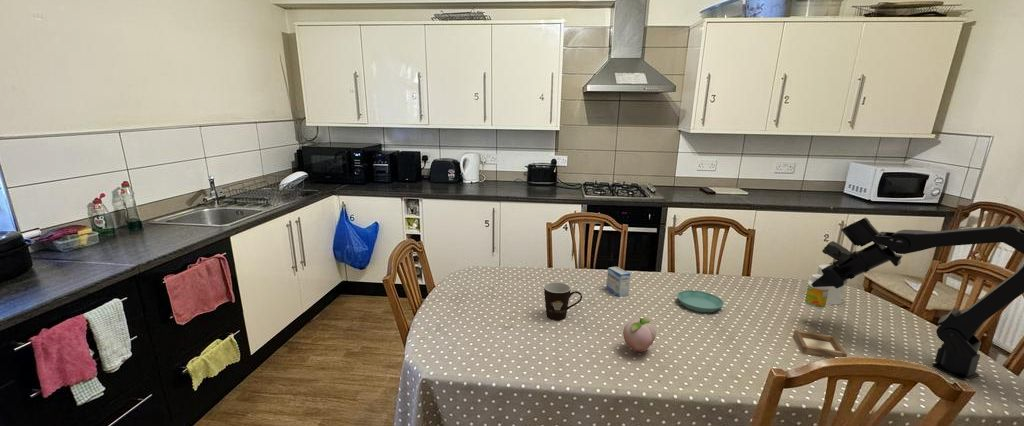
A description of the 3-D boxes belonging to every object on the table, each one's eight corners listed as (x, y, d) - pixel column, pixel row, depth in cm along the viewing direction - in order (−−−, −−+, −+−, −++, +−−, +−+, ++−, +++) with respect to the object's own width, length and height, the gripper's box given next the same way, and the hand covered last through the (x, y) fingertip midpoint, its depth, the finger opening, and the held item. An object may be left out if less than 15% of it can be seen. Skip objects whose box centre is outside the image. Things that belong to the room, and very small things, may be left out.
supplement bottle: (800, 303, 135) (805, 274, 132) (812, 300, 137) (817, 272, 134) (817, 310, 130) (823, 280, 128) (829, 307, 132) (835, 278, 129)
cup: (845, 305, 147) (852, 273, 145) (819, 303, 149) (825, 271, 146) (833, 296, 155) (839, 265, 152) (808, 294, 157) (814, 263, 154)
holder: (833, 342, 123) (834, 336, 123) (845, 360, 114) (847, 354, 114) (793, 336, 127) (794, 329, 126) (802, 353, 117) (803, 346, 117)
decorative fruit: (630, 339, 124) (632, 307, 121) (657, 349, 119) (661, 316, 116) (615, 352, 117) (618, 319, 114) (644, 363, 112) (647, 329, 109)
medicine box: (605, 289, 159) (607, 267, 157) (615, 287, 161) (617, 265, 159) (619, 297, 152) (621, 274, 150) (629, 295, 154) (631, 272, 152)
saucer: (732, 311, 143) (733, 304, 142) (699, 319, 137) (700, 311, 136) (698, 294, 156) (699, 287, 155) (667, 300, 150) (667, 293, 150)
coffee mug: (538, 318, 135) (539, 289, 133) (549, 308, 143) (550, 280, 141) (573, 327, 130) (574, 297, 128) (582, 315, 138) (583, 287, 135)
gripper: (855, 230, 130) (808, 255, 141) (835, 241, 119) (786, 267, 130) (883, 261, 126) (832, 285, 137) (865, 275, 114) (811, 299, 125)
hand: (815, 283), depth 132 cm, fingers closed on supplement bottle, 5 cm apart
